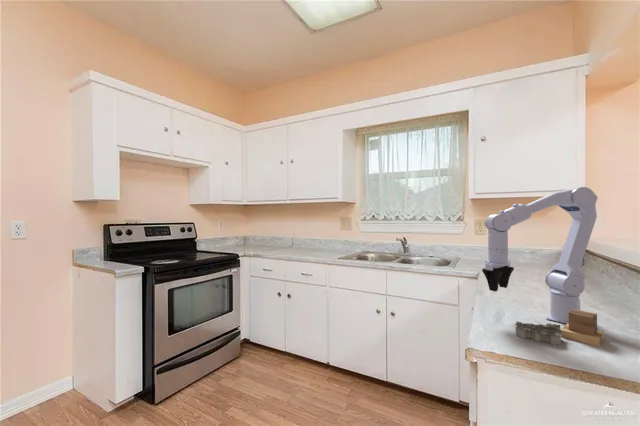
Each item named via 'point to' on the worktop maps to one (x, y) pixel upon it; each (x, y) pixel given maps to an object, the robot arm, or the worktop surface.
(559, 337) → the egg carton
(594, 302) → the worktop surface
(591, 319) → the walnut cube
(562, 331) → the board
